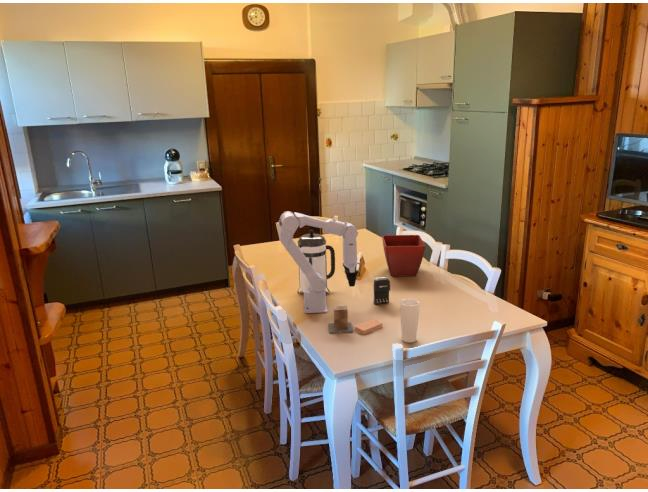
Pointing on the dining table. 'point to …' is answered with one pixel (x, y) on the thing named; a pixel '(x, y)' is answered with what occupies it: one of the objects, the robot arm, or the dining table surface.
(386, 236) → the plant pot
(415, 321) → the drinking glass
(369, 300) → the dining table surface
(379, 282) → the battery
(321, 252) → the coffee press
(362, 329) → the tile
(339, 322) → the brown rectangular block
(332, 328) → the mat
